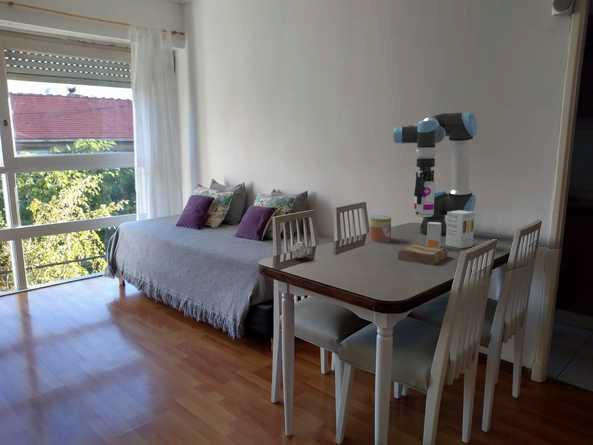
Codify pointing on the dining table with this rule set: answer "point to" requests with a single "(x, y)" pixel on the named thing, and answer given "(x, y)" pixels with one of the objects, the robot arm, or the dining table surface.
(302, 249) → the game die
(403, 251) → the tray
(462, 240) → the supplement box
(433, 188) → the supplement can
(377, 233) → the canned food
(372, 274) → the dining table surface
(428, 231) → the skincare box
